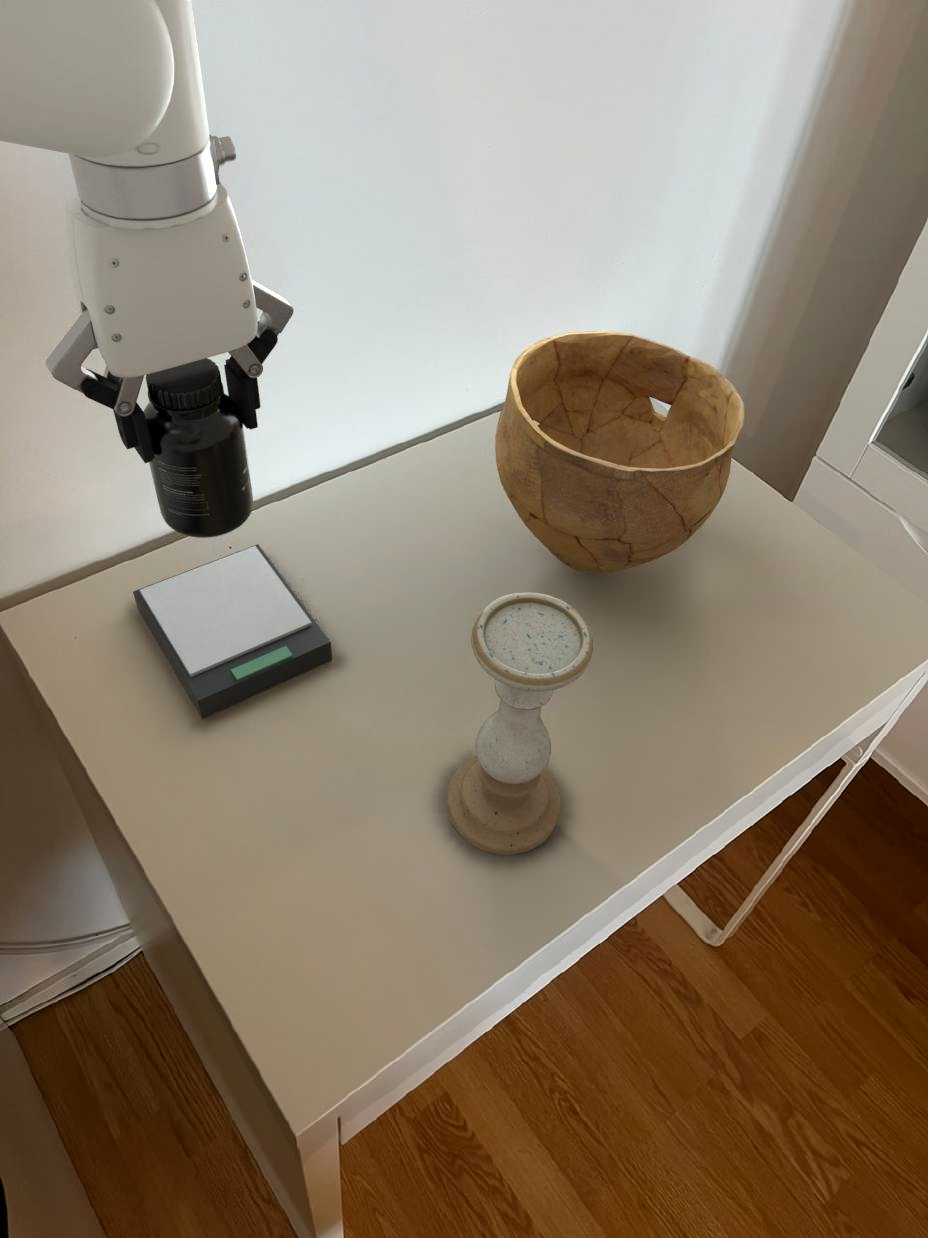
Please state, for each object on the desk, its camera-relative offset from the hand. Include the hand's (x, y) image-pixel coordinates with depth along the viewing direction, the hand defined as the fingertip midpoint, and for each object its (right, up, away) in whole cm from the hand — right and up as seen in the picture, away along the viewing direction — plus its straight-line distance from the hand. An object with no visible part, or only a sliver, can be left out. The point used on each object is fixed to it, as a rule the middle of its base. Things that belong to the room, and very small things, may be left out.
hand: (194, 432), depth 65 cm
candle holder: (+22, -28, +8) cm, 36 cm away
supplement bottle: (0, -5, +5) cm, 7 cm away
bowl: (+31, -8, +26) cm, 41 cm away
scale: (-1, -14, +17) cm, 22 cm away
